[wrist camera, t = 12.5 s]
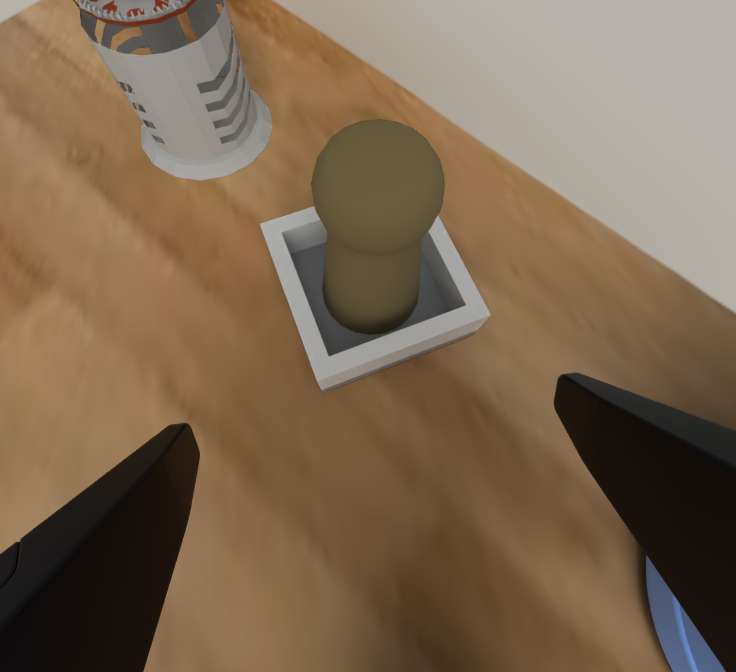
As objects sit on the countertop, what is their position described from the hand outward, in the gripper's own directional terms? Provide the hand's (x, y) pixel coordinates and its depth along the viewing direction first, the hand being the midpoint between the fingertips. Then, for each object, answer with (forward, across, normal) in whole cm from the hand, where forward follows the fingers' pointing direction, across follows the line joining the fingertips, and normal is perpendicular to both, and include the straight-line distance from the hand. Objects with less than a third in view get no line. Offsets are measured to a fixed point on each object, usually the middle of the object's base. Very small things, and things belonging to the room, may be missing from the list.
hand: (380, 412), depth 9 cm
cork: (+15, -1, +3) cm, 16 cm away
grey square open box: (+16, -1, +3) cm, 16 cm away
